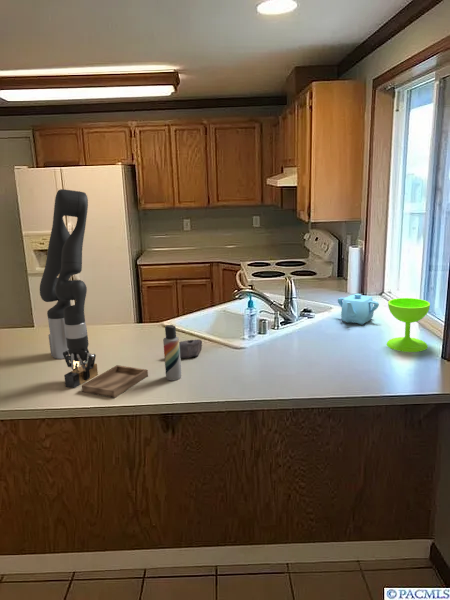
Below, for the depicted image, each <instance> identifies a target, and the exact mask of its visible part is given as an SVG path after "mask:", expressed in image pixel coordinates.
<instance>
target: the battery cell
mask: <svg viewBox="0 0 450 600" xmlns="http://www.w3.org/2000/svg"><path fill="white" fill-rule="evenodd" d="M85 367H86V364H85ZM89 371H90V378H89V379H88V380H87V381H86V380H84V374H83V368H82V366H81V365H80V366H78V368H77V369H75V370H73V369H72V371H70V372H68V373H65V374H64V384H65V387H67V388H71V389H76V388H78V387H79V386H82V385H83V384H85V383H87V382H88V381H90V380H92V379H94V378H95V377H97V376H99V374H98V373H99V371H98V364H97V363H94V368H92V369H90V370H89Z"/></svg>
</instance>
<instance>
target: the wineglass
mask: <svg viewBox="0 0 450 600" xmlns="http://www.w3.org/2000/svg"><path fill="white" fill-rule="evenodd" d="M387 304H388V305H387V307H388V310H389V312H390V314H391V315H392V316H393V317H394V318H395V319H396V320H398V321H399V322H402V323H405V324H404V325H405V327H404V329H405V330H404V336H401V337H393V338H390V339H389V340H388V341H387V342H386V346H387V347H388V348H389V349H391V350H394V351H398V352H404V353H417V352H423V351H425V350H427V349H428V348H429V347H428V344H427V342H425V341H424V340H422V339H419V338H415V337H411V336H410V335H411V323H417V322H419V321H421V320H422V319H423V318H424V317H425V316H427V314H428V313H429V310H430V306H431V303H430V302H429V301H427V300H425V299H420V298H413V297H401V298H399V297H398V298H392V299H390V300H388V302H387Z"/></svg>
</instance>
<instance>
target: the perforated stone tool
mask: <svg viewBox="0 0 450 600" xmlns="http://www.w3.org/2000/svg"><path fill="white" fill-rule="evenodd" d="M179 345H180V359H187V358H188V359H189V358H192V357H198V356H199V355H200V354H201V351H202V350H203V349H202V348H203V347H202V346H203V341H202V340H201V339H190V340H181V341H179Z"/></svg>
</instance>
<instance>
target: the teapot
mask: <svg viewBox="0 0 450 600" xmlns="http://www.w3.org/2000/svg"><path fill="white" fill-rule="evenodd" d="M337 303H338V304H339V306H340V308H341V315H340V316H341V321H342V322H345V323H346V324H351V323H354V324H355V323H356V324H358V325H360V326H363V325H365V323H367V322H369V321H370V320H372V319H373V318H374V314H375V313H374V312H375V311H376V310H377V309H378V307H380V303H379V302H378V301H374V299H373V296H370V295H363V294H361V293H355V294H350V295H349V296H346V297H339V298H337Z"/></svg>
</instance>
